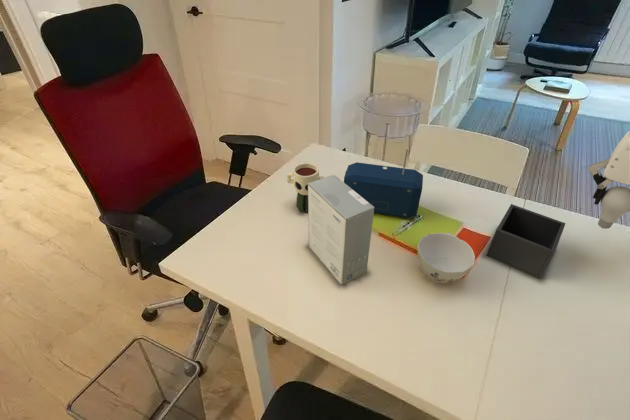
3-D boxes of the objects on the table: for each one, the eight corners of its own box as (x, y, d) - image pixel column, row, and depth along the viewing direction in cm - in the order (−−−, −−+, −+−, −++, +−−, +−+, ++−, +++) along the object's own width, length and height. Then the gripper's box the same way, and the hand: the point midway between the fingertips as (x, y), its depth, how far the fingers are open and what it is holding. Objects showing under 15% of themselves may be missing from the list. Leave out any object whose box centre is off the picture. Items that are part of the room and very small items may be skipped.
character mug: (285, 212, 108) (283, 174, 99) (292, 197, 113) (290, 160, 105) (322, 216, 106) (323, 178, 98) (327, 202, 111) (328, 164, 103)
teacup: (463, 302, 82) (472, 278, 77) (407, 285, 86) (412, 261, 81) (469, 257, 93) (478, 233, 88) (419, 243, 97) (425, 220, 92)
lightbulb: (622, 238, 83) (647, 198, 77) (591, 234, 85) (613, 195, 78) (613, 220, 88) (636, 182, 81) (584, 217, 89) (603, 179, 83)
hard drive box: (367, 273, 89) (376, 208, 77) (341, 286, 86) (345, 220, 74) (332, 235, 100) (334, 173, 87) (307, 246, 96) (306, 182, 84)
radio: (416, 203, 110) (429, 143, 98) (415, 221, 104) (428, 159, 91) (347, 193, 115) (350, 134, 102) (341, 210, 108) (345, 149, 95)
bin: (551, 249, 95) (565, 223, 90) (539, 279, 88) (554, 252, 82) (500, 229, 101) (511, 203, 96) (485, 255, 94) (496, 229, 88)
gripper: (717, 137, 69) (663, 212, 81) (608, 115, 78) (573, 186, 89) (719, 154, 65) (662, 231, 76) (603, 129, 73) (567, 201, 85)
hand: (614, 206), depth 82 cm, fingers closed on lightbulb, 6 cm apart
